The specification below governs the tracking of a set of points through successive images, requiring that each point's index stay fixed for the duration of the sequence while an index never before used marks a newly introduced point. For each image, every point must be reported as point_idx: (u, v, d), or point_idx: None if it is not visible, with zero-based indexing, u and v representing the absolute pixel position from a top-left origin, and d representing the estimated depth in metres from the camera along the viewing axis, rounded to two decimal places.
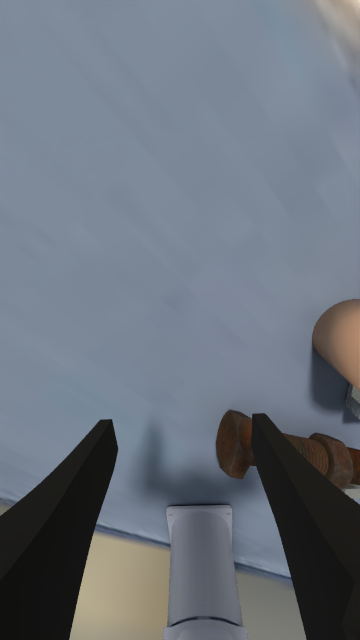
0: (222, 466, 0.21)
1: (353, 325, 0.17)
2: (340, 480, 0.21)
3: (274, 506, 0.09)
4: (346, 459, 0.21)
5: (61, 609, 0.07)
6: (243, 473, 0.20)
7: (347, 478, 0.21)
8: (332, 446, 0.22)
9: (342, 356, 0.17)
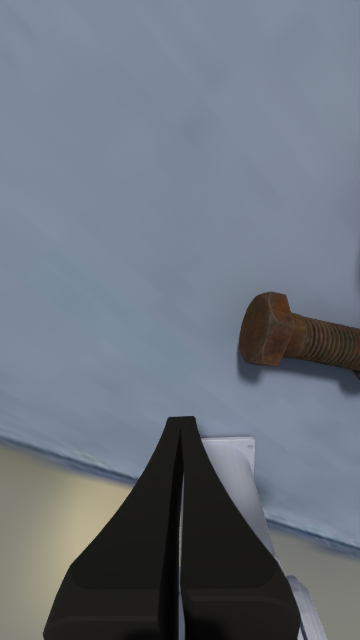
0: (250, 357, 0.17)
1: None
2: None
3: None
4: None
5: (175, 609, 0.07)
6: (280, 356, 0.15)
7: None
8: None
9: None
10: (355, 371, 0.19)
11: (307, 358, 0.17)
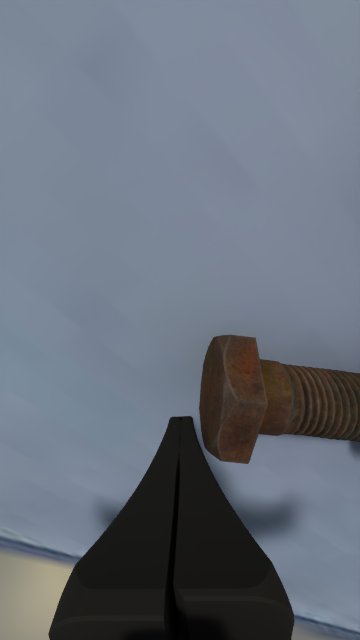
0: (206, 442, 0.10)
1: None
2: None
3: None
4: None
5: None
6: (248, 450, 0.09)
7: None
8: None
9: None
10: None
11: (299, 433, 0.11)
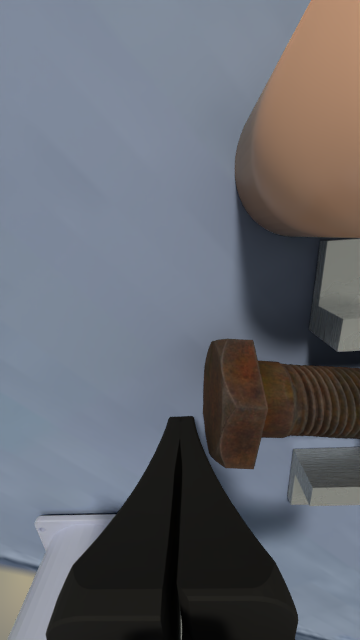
0: (210, 448, 0.10)
1: None
2: None
3: None
4: None
5: (177, 609, 0.07)
6: (252, 455, 0.09)
7: None
8: None
9: (265, 119, 0.06)
10: None
11: (305, 434, 0.10)
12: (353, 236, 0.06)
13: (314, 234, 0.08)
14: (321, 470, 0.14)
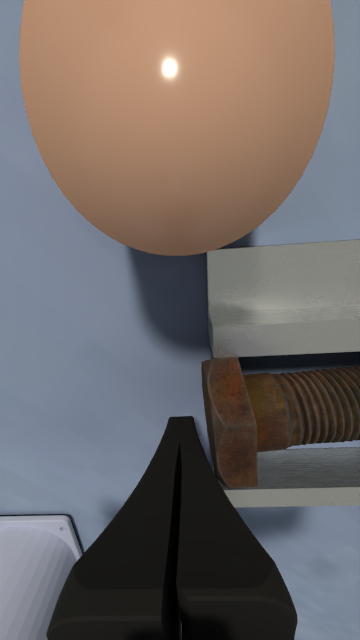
0: (215, 470, 0.10)
1: None
2: None
3: None
4: None
5: (178, 609, 0.07)
6: (253, 472, 0.09)
7: None
8: None
9: None
10: None
11: (308, 442, 0.10)
12: None
13: None
14: None
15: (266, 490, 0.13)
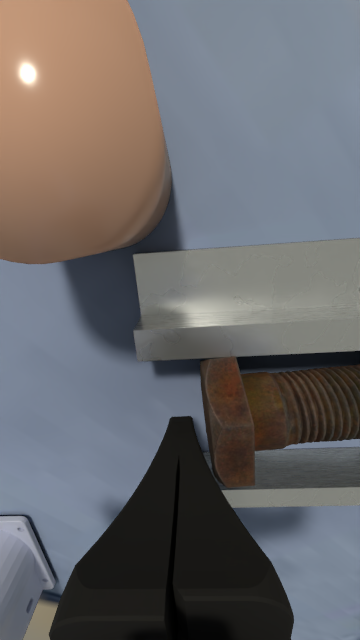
0: (213, 469, 0.10)
1: None
2: None
3: None
4: None
5: None
6: (250, 472, 0.09)
7: None
8: None
9: None
10: None
11: (306, 441, 0.10)
12: None
13: None
14: None
15: None
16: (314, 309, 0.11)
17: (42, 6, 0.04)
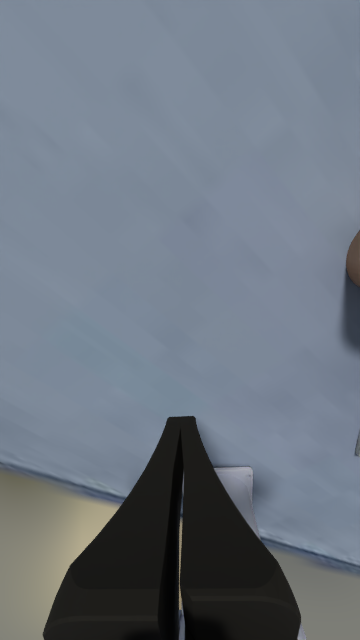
0: None
1: None
2: None
3: None
4: None
5: (175, 609, 0.07)
6: None
7: None
8: None
9: None
10: None
11: None
12: None
13: None
14: None
15: None
16: None
17: None
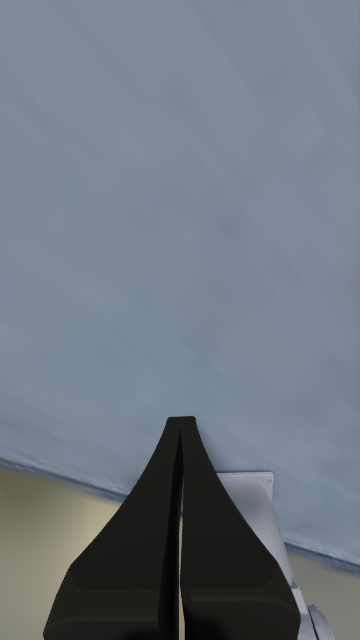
0: None
1: None
2: None
3: None
4: None
5: (175, 609, 0.07)
6: None
7: None
8: None
9: None
10: None
11: None
12: None
13: None
14: None
15: None
16: None
17: None
